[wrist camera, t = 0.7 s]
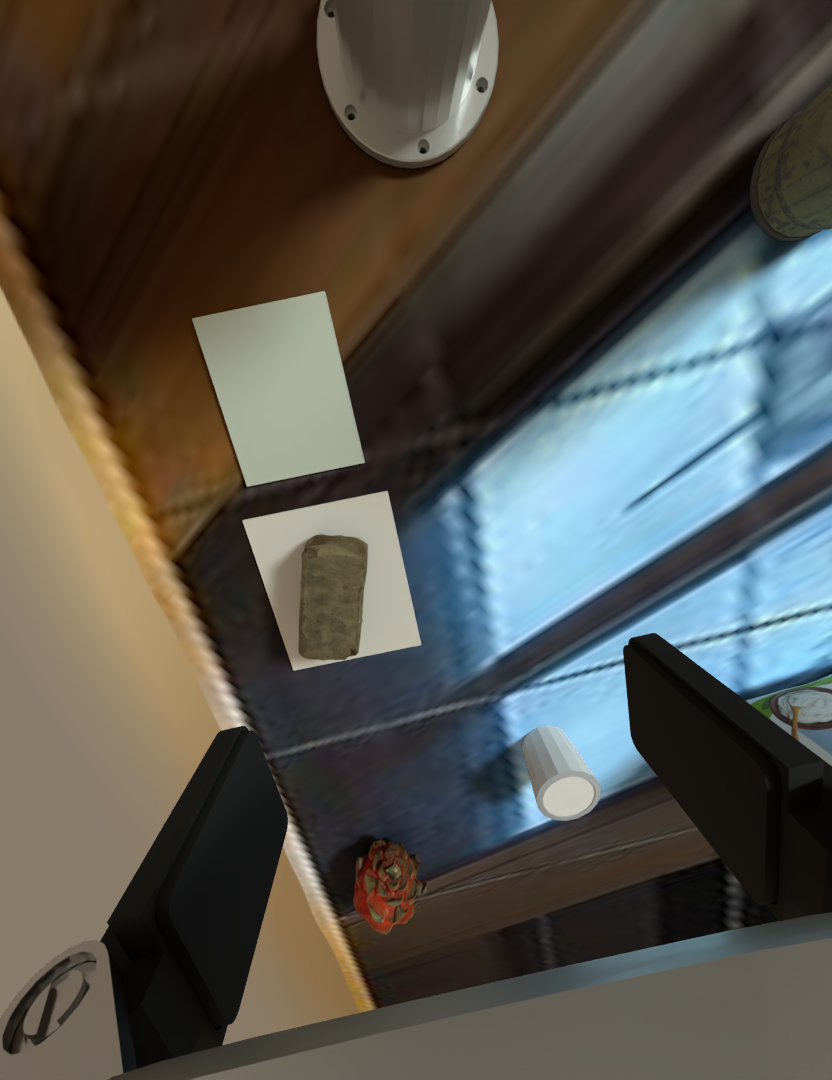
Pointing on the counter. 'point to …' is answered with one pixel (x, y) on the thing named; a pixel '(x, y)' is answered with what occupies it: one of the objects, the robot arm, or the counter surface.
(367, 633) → the tile
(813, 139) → the olive stone pillar
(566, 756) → the white cylinder
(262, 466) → the pale green pad
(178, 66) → the counter surface
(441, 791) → the counter surface
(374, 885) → the dragon fruit
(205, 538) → the counter surface
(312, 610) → the stone block
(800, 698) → the pouch
